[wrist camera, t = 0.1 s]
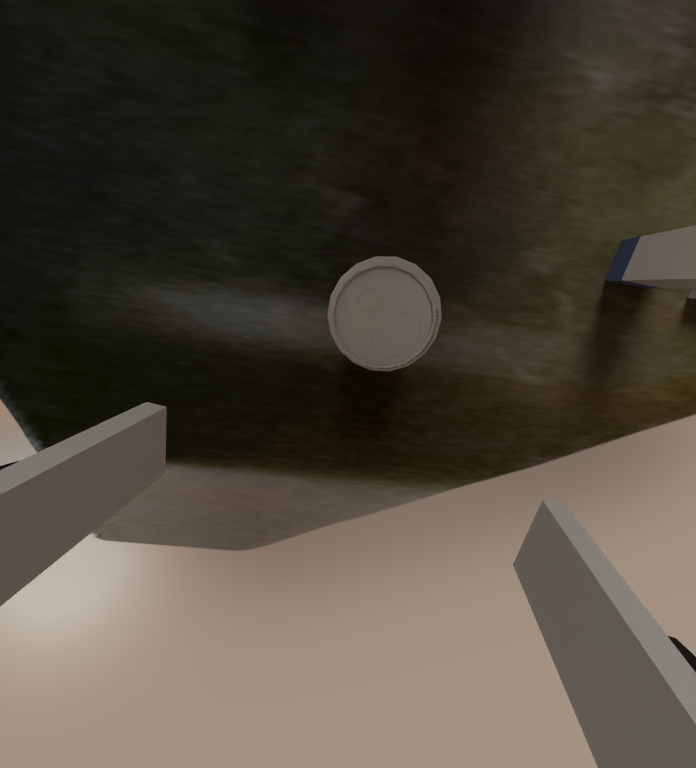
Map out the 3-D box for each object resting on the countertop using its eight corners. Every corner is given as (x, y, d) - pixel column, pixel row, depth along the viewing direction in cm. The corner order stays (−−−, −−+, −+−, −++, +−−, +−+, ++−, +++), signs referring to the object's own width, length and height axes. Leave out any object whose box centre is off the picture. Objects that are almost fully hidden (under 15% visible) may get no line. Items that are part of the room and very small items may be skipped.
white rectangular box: (621, 240, 32) (749, 214, 20) (662, 247, 31) (815, 226, 20) (604, 280, 33) (716, 278, 21) (644, 288, 32) (778, 289, 21)
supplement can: (440, 311, 36) (469, 328, 22) (380, 356, 38) (370, 397, 24) (396, 250, 35) (395, 225, 20) (336, 299, 37) (299, 308, 23)
